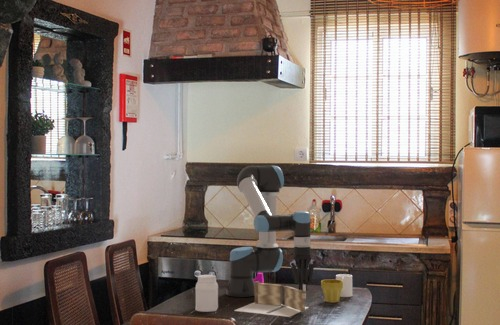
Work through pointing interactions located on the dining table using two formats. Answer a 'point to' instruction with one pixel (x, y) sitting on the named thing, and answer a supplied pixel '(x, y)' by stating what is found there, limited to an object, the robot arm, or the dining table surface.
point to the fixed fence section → (267, 293)
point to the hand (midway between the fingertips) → (303, 298)
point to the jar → (206, 293)
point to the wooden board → (293, 298)
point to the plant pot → (332, 289)
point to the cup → (345, 284)
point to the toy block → (259, 278)
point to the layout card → (269, 309)
